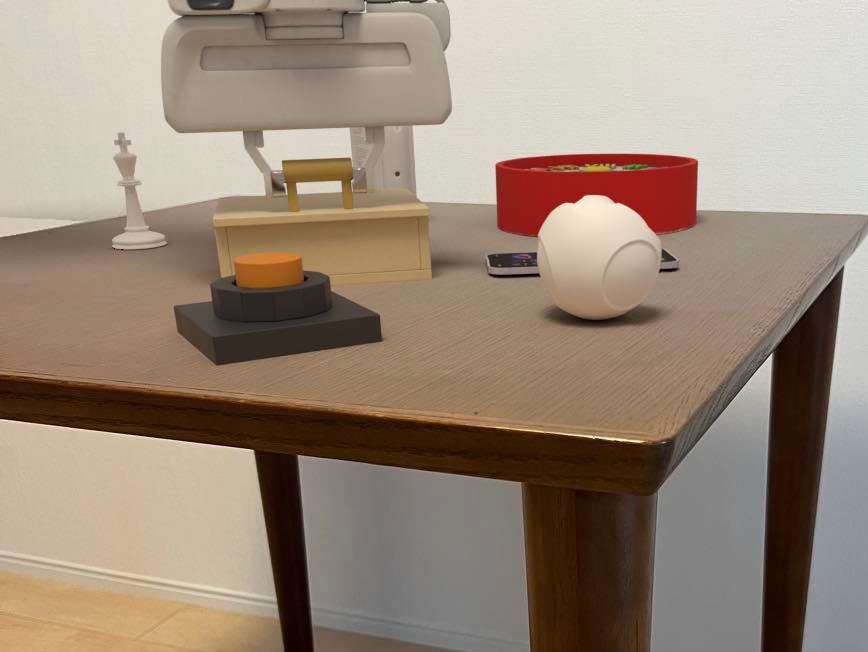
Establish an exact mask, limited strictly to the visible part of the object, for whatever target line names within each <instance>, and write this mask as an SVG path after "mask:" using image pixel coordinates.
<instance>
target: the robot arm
mask: <svg viewBox="0 0 868 652" xmlns="http://www.w3.org/2000/svg"><path fill="white" fill-rule="evenodd" d="M428 1H429V0H167V4H168V7H169V9H170V11H171V12H172V13H173V14H175V15H176V16H178V17H177V18H176V19H174V20H172V21H171V23H169V25H168V26H167V28H166V29H165V31H164V34H163V37H162V40H161V48H160V50H161V51H160V80H161V81H160V82H161V83H160V84H161V97H162V109H163V115H164V120H165V122H166V123H167V124H168V126H169V127H170V128H172V129H173V131H175V132H176V133H177V134H200V133H201V134H202V133H203V134H204V133H205V134H206V133H207V134H208V133H231V132H232V133H235V132H242V139H243V144H244V145H243V147H244V150H245V151H246V153H247V154H248V156H249V157H250V158H251V160H252V161H253V163H254V164H255V166H256V167H257V168H258V171H260V173H262V174H263V182H264V183H263V184H264V190H265V196H266V198H275V197H286V195H287V187H286V185H285V183H284V182H285V179H284V172H283V169H272V168H271V166H270V165H269V163H268V162H267V160H266V159H265V157H264V155H263V154H262V153H261V151H260V149H259V148H264V147H265V140H264V139H265V138H264V132H265V131H291V130H319V129H321V130H323V129H348V128H349V129H350V128H354V127H363V137H364V141H365V142H366V143H368V144H371V145H370V147H369V150H368V152H367V154H366V156H365V159H364V161H363V163H362V165H361V166H362V167H353V166H352V168H353V169H352V174H353V180H351V185H352V192H353V193H354V194H358V193H373V189H374V187H373V175H372V168H374V166H375V164H376V162H377V160H378V158H379V156H380V153H381V151H382V149H383V147H384V145H385V133H384V126H439V125H443V124H444V123H445V122H446V121H447V120H448V118H449V117H450V115H451V114H452V111H453V101H452V100H453V98H452V90H451V83H450V82H451V81H450V75H449V69H448V64H447V58H446V53H445V51H446V50H447V49H448V47H449V44H450V41H451V37H452V33H451V15H450V10H449V7H448V5H447V3H446V2H445V0H434V1H435V2H428Z"/></svg>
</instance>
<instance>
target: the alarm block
mask: <svg viewBox="0 0 868 652" xmlns="http://www.w3.org/2000/svg"><path fill="white" fill-rule="evenodd" d="M303 275H304V282H302V283H298V284H294V285H288V286H280V287H268V288H249V287H240V286H237V282H236V275H232V276H228V277H223V278H221V277H219V278H217V279H216V280H214V281H213V282H211V283H210V284H209V288H210V295H211V300H210V301H201V302H194V303H193V302H192V303H185V304H177V305H173V312H174V319H175V325H176V330H177V333H179V335H181V336H182V337H183V338H184V339H185V340H187V341H188V343H190V344H191V345H192V346H194V347H195V348H196V349H197V350H198V351H199V352H200V353H202V354H203V355H204V356H205V357H206V358H207V359H208V360H210V362H212V363H213V364H214V365H216V366H218V367H219V366H224V365H231V364H238V363H244V362H251V361H252V362H253V361H259V360H266V359H272V358H279V357H286V356H293V355H300V354H307V353H314V352H321V351H327V350H334V349H342V348H347V347H356V346H361V345H362V346H363V345H368V344H377V343H381V342H383V335H382V322H381V315H380V313H378V312H376V311H373V310H371V309H370V308H367V307H365V306H363V305H361V304H359V303H357V302H355V301H353V300H351V299H349V298H348V297H347V298H346V297H345V296H343V295H341V294H338V293H336V292H334V291H333V290H332V286H331V285H330V277H329V276H327V275H325V274H323V273H321V272H315V271H305V270H303Z"/></svg>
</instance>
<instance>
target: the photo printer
mask: <svg viewBox="0 0 868 652" xmlns="http://www.w3.org/2000/svg"><path fill="white" fill-rule="evenodd" d="M413 126H414V125H412V126H384V133H385V145H384V147H383V149H382V151H381V153H380V156H379V158H378V160H377V162H376V164H375V166H374V168H372V175H373V187H374V189H373V191H375V190H396V189H408V190H409V191H410V192H411V193H412V194H413V195H414V196H416V197H417V196H418V195H417V179H416V177H417V176H416V162H415V161H416V160H415V144H414V128H413ZM349 135H350V137H349V138H350V149H351V160H352V167H362V166H361V165H362V163H363V161H364V159H365V156H366V154H367V152H368V150H369V147H370V145H371V144H368V143H366V142H365V141H364V137H363V127H354V128H349ZM417 198H418V197H417Z"/></svg>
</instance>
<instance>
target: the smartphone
mask: <svg viewBox="0 0 868 652" xmlns="http://www.w3.org/2000/svg"><path fill="white" fill-rule="evenodd" d="M485 264H486V269H487V272H488V274H490V275H491V274H492V275H528V274H540V273H539V269H538V264H537V251H527V252H499V253H497V252H495V253H489V254H485ZM679 266H680V259H679V258H678V257H676V256H675V255H674V254H672V253H671V252H670V251H669V250H668V249H666V248H663V247H661V264H660V269H659V270H665V269H676V268H678V267H679Z"/></svg>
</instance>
